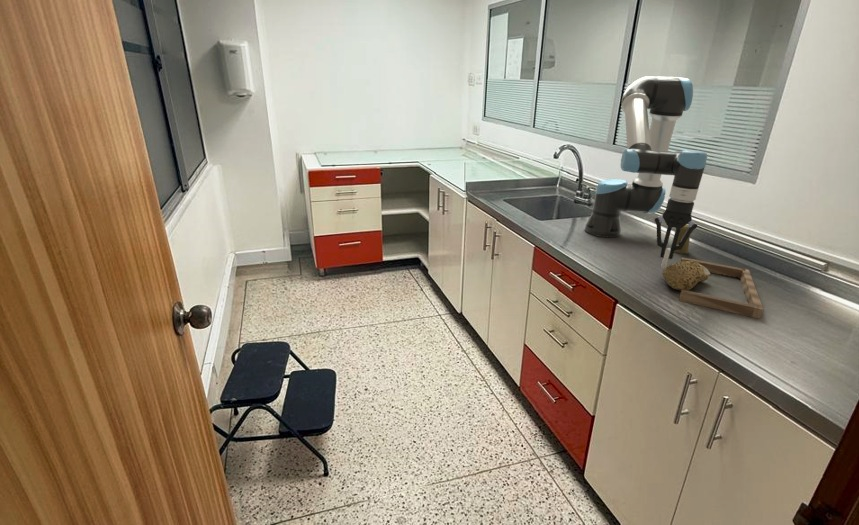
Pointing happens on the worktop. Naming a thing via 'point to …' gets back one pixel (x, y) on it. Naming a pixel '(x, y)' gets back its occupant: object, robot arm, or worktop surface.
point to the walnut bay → (749, 309)
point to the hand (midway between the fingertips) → (663, 266)
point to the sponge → (685, 274)
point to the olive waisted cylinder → (686, 245)
